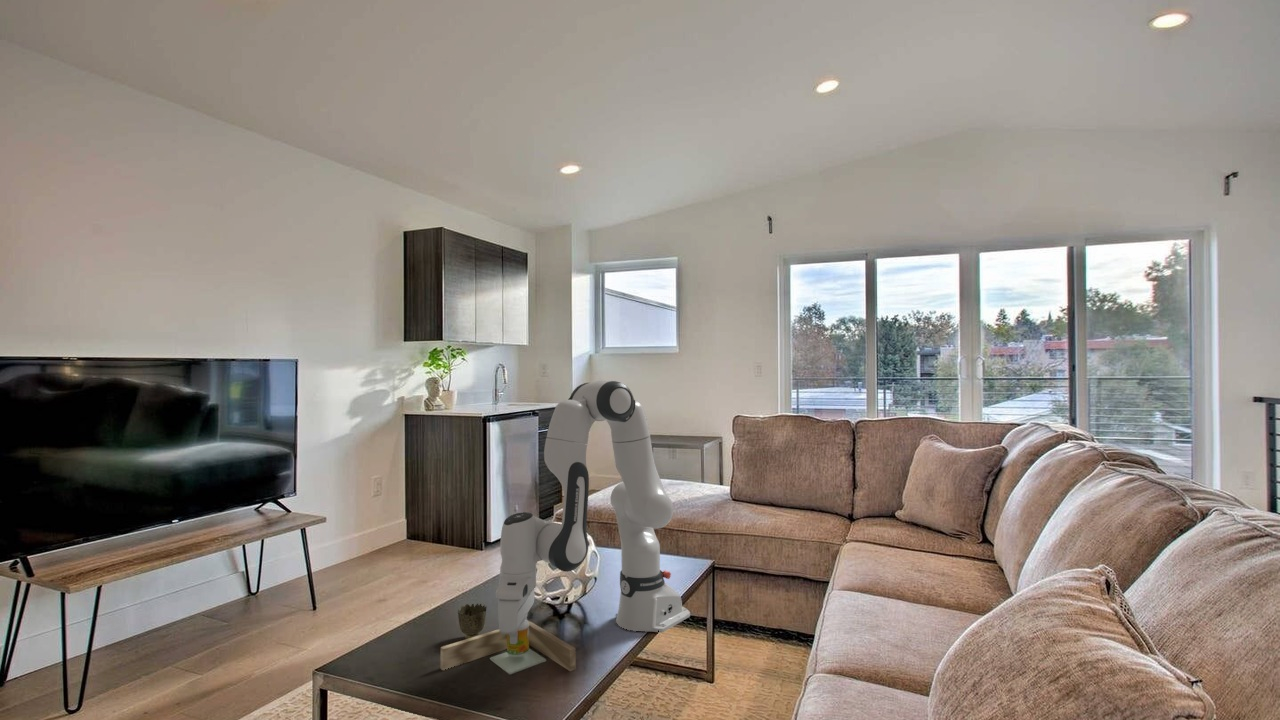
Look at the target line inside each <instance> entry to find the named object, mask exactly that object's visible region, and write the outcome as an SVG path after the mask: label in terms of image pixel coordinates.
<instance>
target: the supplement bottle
mask: <svg viewBox="0 0 1280 720" xmlns="http://www.w3.org/2000/svg"><path fill="white" fill-rule="evenodd" d="M517 632H518V634H519V637H518V639H519V640H518V642H517V644H510V637H509V634H507V649H506V652H507V654H508V655H509V656H511V657H521V656H524V655H526V654H527V653H528V652H529V649H530V645H529V622H528V619H527V620H526V613H525V615H524V619H523V621H522V622H521V624H520V625H519V627H518V630H517Z"/></svg>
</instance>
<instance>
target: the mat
mask: <svg viewBox="0 0 1280 720" xmlns="http://www.w3.org/2000/svg"><path fill="white" fill-rule="evenodd" d="M489 660H490V661H491V662H493V664H495V665H497V666H498V667H499V668H501V669H502V670H503V671H504V672H505V673H507V674H508V675H512V674H515V673H518V672H520V671H523V670H526V669H528V668H531V667H534V666H537V665H539V664H542V663H544V662H547V658H545V657H543V656H542V655H540V654H539V653H537V652H535V651H534V650H533V649H531V648H529V652H528V653H527V654H526V655H524V656H521V657H511V656H509V655H508V654H507V651H505V652H503V653H500V654H497V655H494V656H491V657H489Z"/></svg>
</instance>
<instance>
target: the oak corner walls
mask: <svg viewBox="0 0 1280 720" xmlns="http://www.w3.org/2000/svg"><path fill="white" fill-rule="evenodd" d="M527 620H528V619H527ZM528 622H529V647H532V648H534V649H535V650H536V651H538V652H539V653H541V654H543V655H544V656H546V657H547V658H549V659H550V660H551V661H553V662H555V663H557V664H558V665H560V666H561V667H563V668H564V669H565V670H567V671H569V672H573V671H575V670H576V647H574V646H572V645H571V644H569V643H567V642H566V641H564V640H562V639H561V638H559V637H557V636H555V635H554V634H552V633H551V632H549V631H547V630H545V629H544V628H542V627H541V626H539V625H537V624H535V623H534V622H532V621H530V620H528ZM506 650H507V634H501V633H500V631H499V628H498V629H496V630H492V631H489V632H485V633H482V634H479V635H478V636H475V637H472V638H469V639H466V638H465V639H463V640H460V641H456V642H453V643H450V644H446V645H443V646H441V647H440V660H439V661H440V663H439V664H440V667H439V668H440V670H442V671H446V670H449V669H452V668H454V666H455V667H457V666H460V664H461V665H464V664H467V663H470V662H472V661H476V660H479V659H481V658H484V657H487V656H490V655H493V654H496V653H499V652H502V651H506ZM463 663H464V664H463ZM451 667H452V668H451ZM448 668H449V669H448ZM445 669H446V670H445Z"/></svg>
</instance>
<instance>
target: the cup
mask: <svg viewBox="0 0 1280 720" xmlns="http://www.w3.org/2000/svg"><path fill="white" fill-rule="evenodd" d="M457 609H458V608H457ZM486 614H487V606H485V604H483V605H482V603H480V604H479V603H476V604H475V605H474V603H472V604H471V605H469V604H468V603H467V604H465V605H464V606H463V605H461V607H460V609H458V610H457V615H458V624H459V629H460V631H461V632H462V634H464V638H465V639H469V638H472V637H475V636H478V635H480V633H481V631H483V629H484V627H485V622H486V617H487V615H486Z"/></svg>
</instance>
